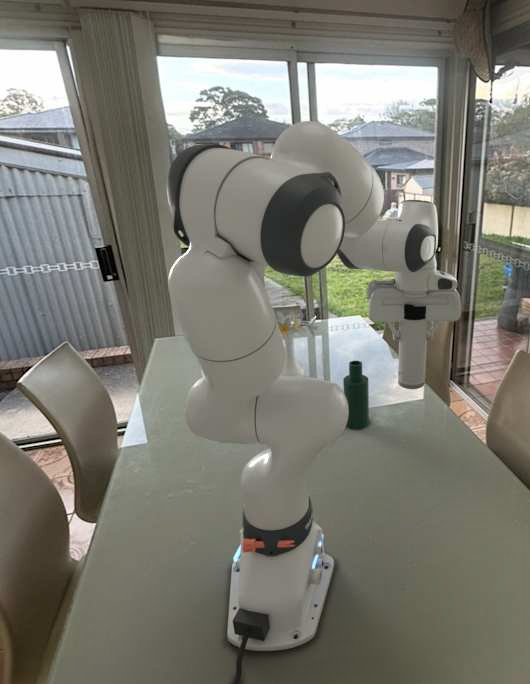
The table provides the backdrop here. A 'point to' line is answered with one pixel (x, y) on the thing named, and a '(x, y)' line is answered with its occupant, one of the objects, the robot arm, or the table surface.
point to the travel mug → (412, 347)
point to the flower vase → (288, 335)
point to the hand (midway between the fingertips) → (413, 339)
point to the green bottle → (356, 396)
